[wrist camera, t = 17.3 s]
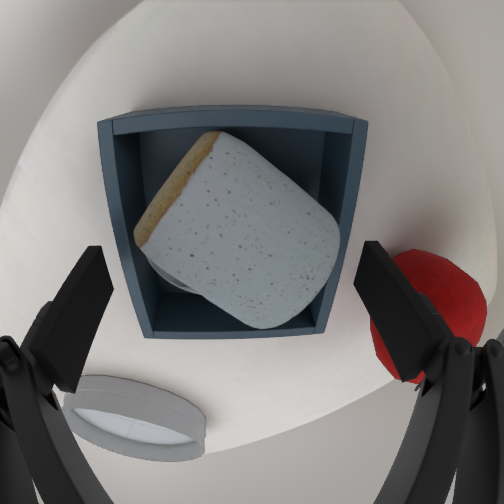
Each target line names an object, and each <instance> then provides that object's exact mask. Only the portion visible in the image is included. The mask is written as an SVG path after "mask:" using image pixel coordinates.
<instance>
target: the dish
mask: <svg viewBox="0 0 504 504" xmlns="http://www.w3.org/2000/svg"><path fill="white" fill-rule="evenodd" d="M62 412H63V414H64V416H65V419H66V421H67V423H68V425H69V427H70V430H71V431H73V432H74V433H76V434H77V435H78V436H80V437H81V438H83V439H85V440H87V441H89V442H91V443H92V444H95V445H97V446H99V447H101V448H104V449H106V450H109V451H112V452H115V453H118V454H122V455H125V456H129V457H134V458H138V459H144V460H151V461H163V462H180V461H187V460H193V459H196V458H198V457H201V456H202V455H203V454H204V452H205V447H204V438H205V437H206V422H205V416H204V415H203V414H202V412H201V411H200V410H199V409H198V408H197V407H195V406H194V405H192V404H191V403H190V402H188V401H187V400H184V399H182V398H180V397H178V396H176V395H174V394H172V393H170V392H167V391H164V390H161V389H158V388H156V387H153V386H150V385H147V384H143V383H139V382H135V381H131V380H127V379H122V378H116V377H109V376H94V375H86V376H82V377H80V380H79V383H78V387H77V390H76V393H75V394H73V393H68V392H66V394H65V396H64V405H63V408H62ZM86 425H87V426H86ZM101 433H102V434H101ZM171 448H172V449H171Z"/></svg>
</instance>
